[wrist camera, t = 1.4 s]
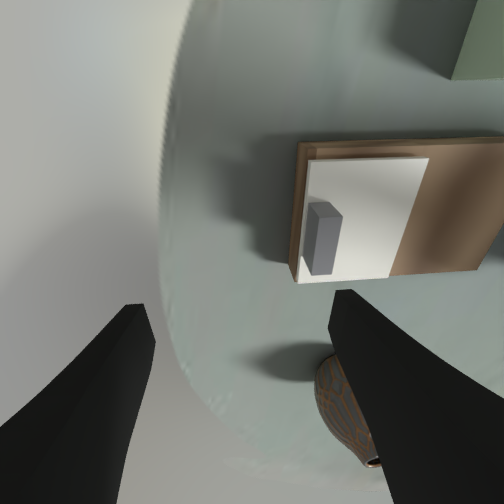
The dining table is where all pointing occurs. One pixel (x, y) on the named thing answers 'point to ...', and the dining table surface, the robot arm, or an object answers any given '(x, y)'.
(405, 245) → the wooden tray
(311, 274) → the cover
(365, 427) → the vase
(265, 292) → the dining table surface
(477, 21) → the block
